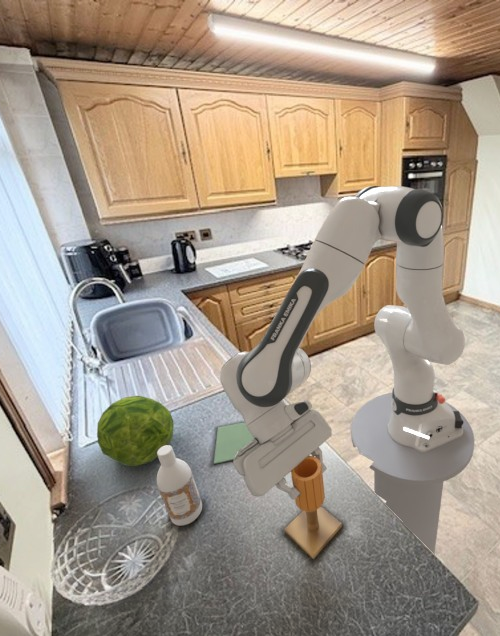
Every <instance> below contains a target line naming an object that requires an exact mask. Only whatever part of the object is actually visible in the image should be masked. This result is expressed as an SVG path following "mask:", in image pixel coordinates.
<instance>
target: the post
mask: <svg viewBox="0 0 500 636" xmlns="http://www.w3.org/2000/svg"><path fill="white" fill-rule="evenodd" d="M342 527H343V523H342V522H341V521H340V520H338V519H337V518H336V517H335V516H334V515H333V514H331V513H330V512H329V511H327V510H326V509H325V507H323V506H320V507H319V508H318V509H316V510H315V511H311V512H309V511H308V512H306V511H302V510H301V512H300V513H299V514H298V515H297V516H296V517H295V518H294V519H293V520H292V521H291V522H290V523H289V524H288V525H287V526H286V527H285V528H284V530H283V531H284V533H285V534H286V535H287V536H288V537H289V538H290V539H292V540H293V542H295V543H296V544H297V545H298V546H299V547H300V548H301V549H302V550H303V551H304V552H305V553H306V554H308V556H309V557H310V558H311V559H312V560H315V558H316V557H317V556H318V555H319V554H320V552H321V551H322V550H323V549H324V548H325V547H326V545H327V544H328V543H329V542H330V541H331V540H332V539H333V537H334V536H335V535H336V534H337V533H338V532H339V530H340V529H341V528H342Z"/></svg>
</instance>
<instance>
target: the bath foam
mask: <svg viewBox="0 0 500 636" xmlns="http://www.w3.org/2000/svg"><path fill="white" fill-rule="evenodd" d="M157 455H158V457H157V458H158V461H159V462H160V466H159V469H158V471H157V474H156V485H157V490H158V491H159V494H160V497H161V499H162V502H163V504H164V506H165V509H166V511H167V513H168V516H169V518H170V521H171V522H172V524H174V525H176V526H179V527H181V526H182V527H183V526H187V525H189V524H191V523H193V522H194V521H195V520H196V519H198V518H199V516H200V515H201V512H202V509H203V502H202V499H201V495H200V493H199V490H198V487H197V484H196V481H195V477H194V475H193V472H192V469H191V467H190V466H189V464H188V462H186V461H184V460H182V459H180V458H178V457H176V454H175V452H174V449H173V446H172V445H170V444H169V445H166V446H163V447H161V448H160V449H159V450H158V451H157Z"/></svg>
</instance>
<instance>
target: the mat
mask: <svg viewBox="0 0 500 636" xmlns="http://www.w3.org/2000/svg"><path fill="white" fill-rule="evenodd" d="M216 431H217V432H216V441H215V448H214V449H215V450H214V458H213V459H214V460H213V464H214V465H216V464H221V463H226V462H230V461H233V460H234V457H235V456H236V453H237V451H239V450H240V449H241V448H243V447H245V446H246V445H247V444H248V443H250V442H251V441H252V440H254V438H253V436H252V435H251V433H250V432H249V430H248V428H247V426H246V425H245V422H244V421H243V422H238V423H233V424H229V425H223V426H218V427H217V430H216ZM248 451H249V450H248ZM246 452H247V451H246ZM246 452H245V453H246ZM245 453H244V454H245ZM238 458H239V457H237V458H236V459H238Z"/></svg>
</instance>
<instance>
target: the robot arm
mask: <svg viewBox="0 0 500 636" xmlns="http://www.w3.org/2000/svg"><path fill="white" fill-rule="evenodd" d="M443 221H444V211H443V206H442V204H441V201H440V199H439V197H438V196H437V195H436V194H434V193H432V192H430V191H429V190H425V189H422V188H413V187H408V186H402V185H391V186H379V185H371V186H367V187H364V188H363V189H360V190H359V191H358V192H356V194H354V196H345V197H342V198H341V199H340V200H338V201H337V202H336V204H335V205H334V207H333V208H332V209H331V210H330V212H329V214H328V215H327V217H326V218H325V220H324V221H323V223H322V225H321V227H320V229H318V232H317V234H316V236H315V238H314V240H313V242H312V244H311V247H310V249H309V251H308V253H307V255H306V257H305V259H304V262H303V263H302V266H301V268H300V270H299V272H298V274H297V276H296V277H295V280H294V282H293V283H292V284H291V287H290V288H289V290H288V292H287V293H286V295H285V297H284V298H283V300H282V302H281V304H280V306H279V308H278V309H277V311H276V313H275V314H274V317H273V318H272V320H271V322H270V324H269V325H268V328H267V329H266V332H265V334H264V335H263V336H262V338H261V339H260V341H259V342H258V344H256V346H255V347H253V348H252V349H251V350H250V351H241V352H238V353H236V354H235V355H234V356H231V358H229V359H228V360H227V361H226V362H225V363H224V364H223V366H222V367H221V369H220V371H219V373H218V374H219V380H220V384H221V386H222V389H223V391H224V392H225V395H226V396H227V398H228V400H229V401H230V403H231V405H232V406H233V408H234V409H235V410H236V411H237V412H238V413H239V414H240V416H242V419H243V422H245V425H246V426H247V428H248V430H249V432H250V433H251V435H252V436H253V438H254V440H252V441H251V442H250V443H248V444H247V445H246V446H245V447H243V448H241V449H240V450H239V451H237V453H236V456H235V457H234V460H232V461H233V467H234V469H235V470H236V472H237V473H238V474H239V475H241V476H242V479H243V480H244V483H245V486H246V487H247V490H248V491H249V493H250V494H251V496H253V497H257V498H258V497H263V496H265V495H266V494H267V493H268V492H269V491H271V489H272V488H273V487H276V488H277V489H278V490H280V491H282V492H284V493H287V495H288V496H289V498H290V499H291V500H292V501H296V500H295V499H296V498H297V497H298V496H299V495H300V492H299V491H298V489H297V487H296V486H295V487H293V486H292V487H290V486H288V485H286V484H287V480H286V478H285V477H286V476H288V475H289V474H291V471H292V470H293V469H294V468H295V467H296V466H298V465H299V464H300V463H301V462H302V461H303V460H304V459H306V458H307V457H308V456H313V457H316V458H317V459H318V460H319V461H320V462H321V466H322V474H323V473H324V472H326V470H327V466H326V465H325V463H324V458H323V451H322V449H321V448H320V447H321V446H323V444H324V443H325V442H326V441H328V440H329V439H330V438H332V436H333V430H332V428H331V426H330V424H329V423H328V422H327V420H326V418H324V416H323V415H322V414H321V413H320V412H319V411H318V410H316V409H313V405H312V402H311V401H310V400H309V399H305V400H300V401H297V402H294V403H291V404H286V402H285V401H284V399H285V398H286V397H287V396H288V395H291V394H292V393H294V392H295V391H296V390H298V389H299V388H301V387H302V386H303V385H304V384H305V383H306V381H307V380H308V379H309V377H310V375H311V371H312V363H311V360H310V357H309V355H308V354H307V352H306V351H305V350H304V349H302V347H301V345H302V343H303V341H304V339H305V337H306V335H307V333H308V331H309V330H310V328H311V326H312V324H313V323H314V320H315V319H316V318H317V316H318V315H319V314H320V312H322V311H323V310H324V309H325V308H326V307H327V306H328V305H330V304H331V303H333V302H335V301H337V300H339V299H340V298H342V297H344V296H345V295H347V294H348V292H349V291H350V290H351V289H352V287H354V285H355V283H356V282H357V281H358V278H359V277H360V275H361V273H362V272H363V270H364V267H365V265H366V263H367V261H368V259H369V257H370V254H371V252H372V249H373V246H374V245H375V244H376V243H377V242H378V241H379V240H382V241H386V242H394V243H395V244H396V253H395V255H396V257H395V292H396V295H397V297H398V299H399V300H400V301H401V302H402V303H403V304H404V306H403V305H393V304H387V305H384V306H383V307H382V308H381V309H379V311H378V312H377V313H376V315H375V318H374V323H373V325H374V326H373V328H374V333H375V334H376V336H378V337H379V339H380V340H381V342H382V343H383V345H384V346H385V348H386V351H387V354H388V356H389V359H390V362H391V365H392V370H393V388H392V392H391V393H392V414H391V417H390V420H389V423H388V426H387V430H388V433H389V435H390V436H391V438H392V439H393V440H395V441H396V442H397V443H399V444H401V445H404V446H407V447H411V448H414V449H416V450H418V451H419V452H422V453H425V452H428V451H430V450H432V449H434V448H437V447H439V446H441V445H443V444H446V443H448V442H450V441H452V440H455V439H457V438H459V437H461V436H463V427H462V425H463V420H462V419H461V416H460V413H461V412H460V411H459V410H458V411H453V410H452V409H451V407H450V406H449V405H448V404H449V403H448V402H447V401H446V398H445V397H444V396H443V395H442V394H439V391H438V390H437V389H436V388H435V387H434V386H435V376H436V375H435V369H434V367H433V365H432V363H434V364H438V365H444V366H449V365H452V364H453V363H455V362H456V361H458V360H459V359H460V357H461V356H462V354H463V353H464V350H465V346H466V338H465V334H464V332H463V330H462V329H461V328H460V327H459V326H458V325H457V324H456V322H455V321H454V320H453V318H452V316H451V314H450V313H449V310H448V308H447V305H446V301H445V297H444V291H443V288H444V287H443V286H444V285H443V284H444V283H443V280H444V279H443V278H444V262H445V243H444V242H445V241H444V232H443ZM446 402H447V403H448V404H447V403H446ZM459 412H460V413H459ZM248 450H249V451H248ZM246 451H247V452H246ZM245 452H246V453H245ZM244 453H245V454H244ZM237 457H239V458H238V459H236V458H237Z"/></svg>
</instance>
